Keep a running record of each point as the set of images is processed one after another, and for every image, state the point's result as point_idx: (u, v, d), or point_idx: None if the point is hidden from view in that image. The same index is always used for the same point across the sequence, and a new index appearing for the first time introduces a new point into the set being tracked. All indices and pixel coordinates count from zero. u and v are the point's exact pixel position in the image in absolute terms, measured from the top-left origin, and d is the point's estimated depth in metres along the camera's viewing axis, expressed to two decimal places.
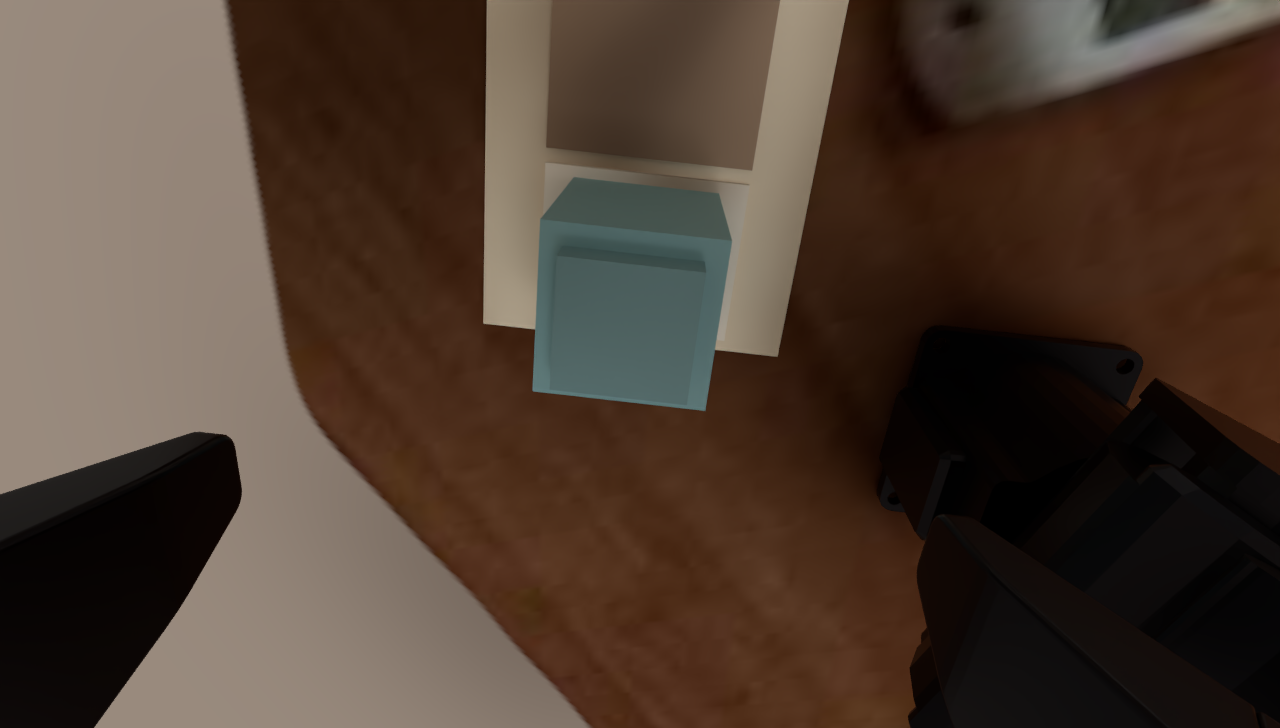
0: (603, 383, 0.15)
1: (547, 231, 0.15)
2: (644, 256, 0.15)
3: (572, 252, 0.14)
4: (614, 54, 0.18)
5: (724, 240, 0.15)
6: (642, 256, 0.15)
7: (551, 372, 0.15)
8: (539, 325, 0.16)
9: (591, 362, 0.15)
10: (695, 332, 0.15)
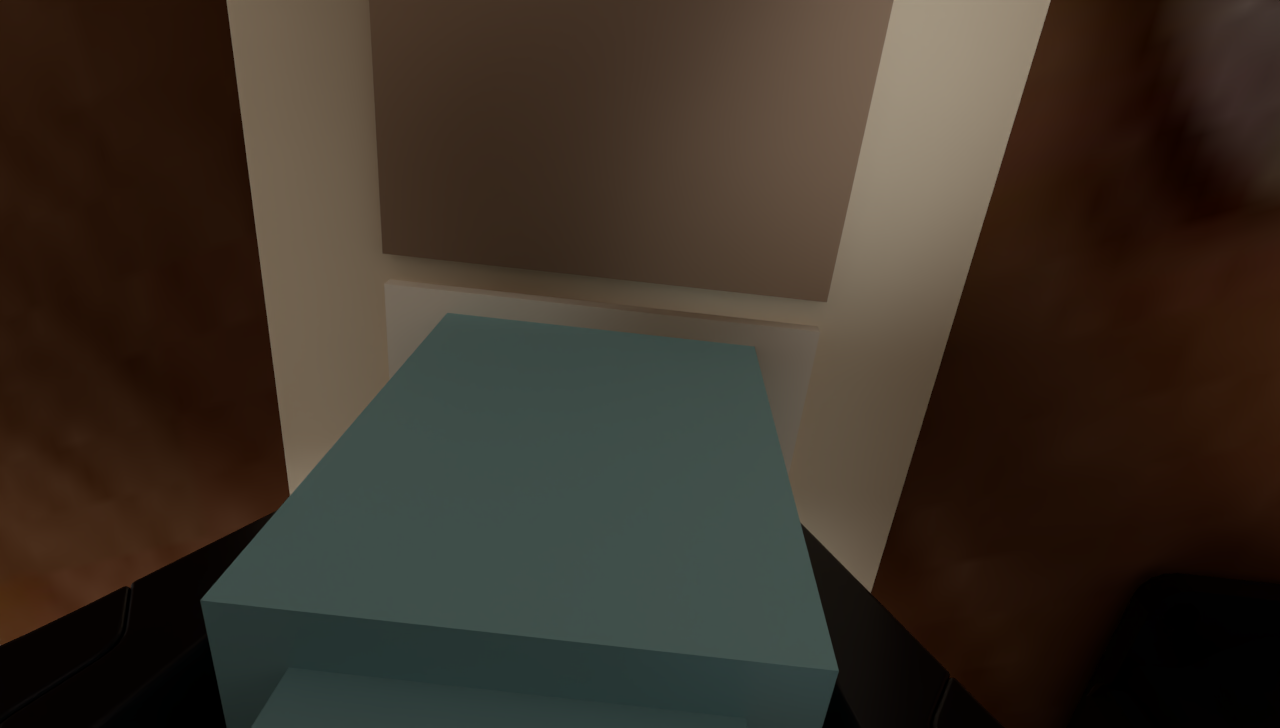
0: None
1: (232, 631, 0.04)
2: (549, 713, 0.04)
3: None
4: (518, 52, 0.08)
5: (812, 667, 0.04)
6: (542, 714, 0.04)
7: None
8: None
9: None
10: None
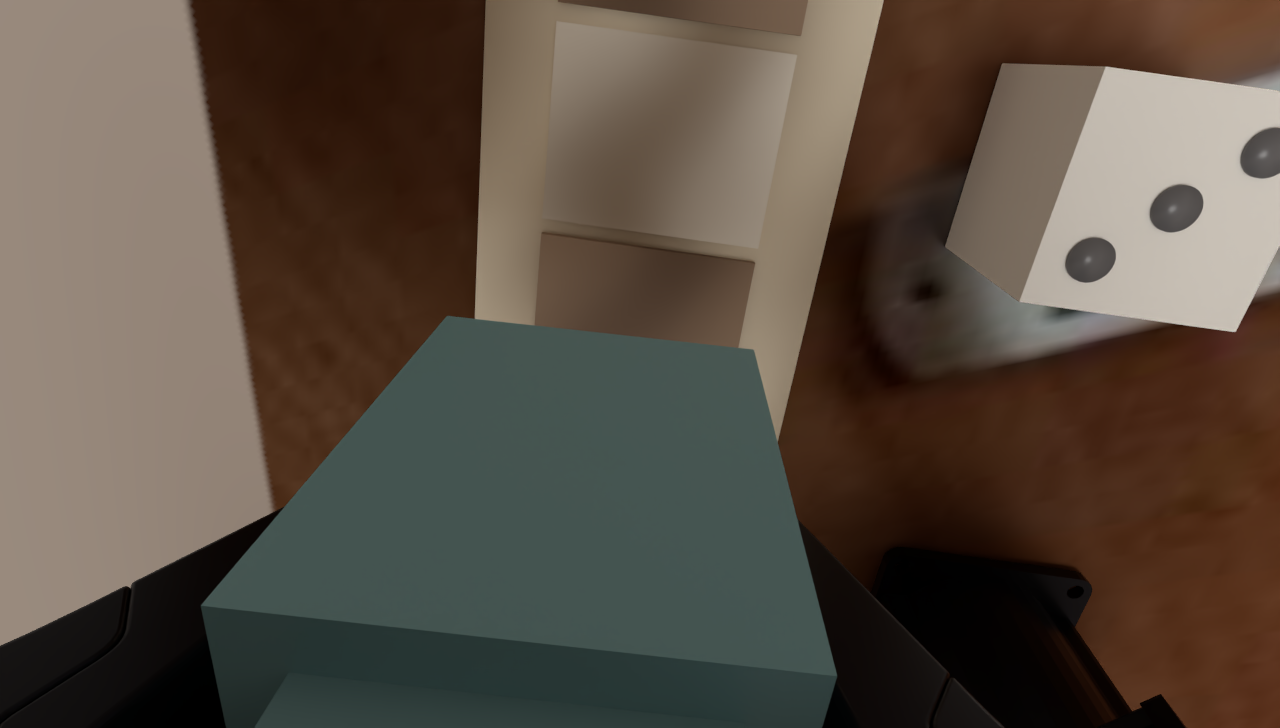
0: None
1: (233, 636, 0.05)
2: (549, 719, 0.04)
3: None
4: (595, 318, 0.19)
5: (811, 673, 0.04)
6: (542, 720, 0.04)
7: None
8: None
9: None
10: None
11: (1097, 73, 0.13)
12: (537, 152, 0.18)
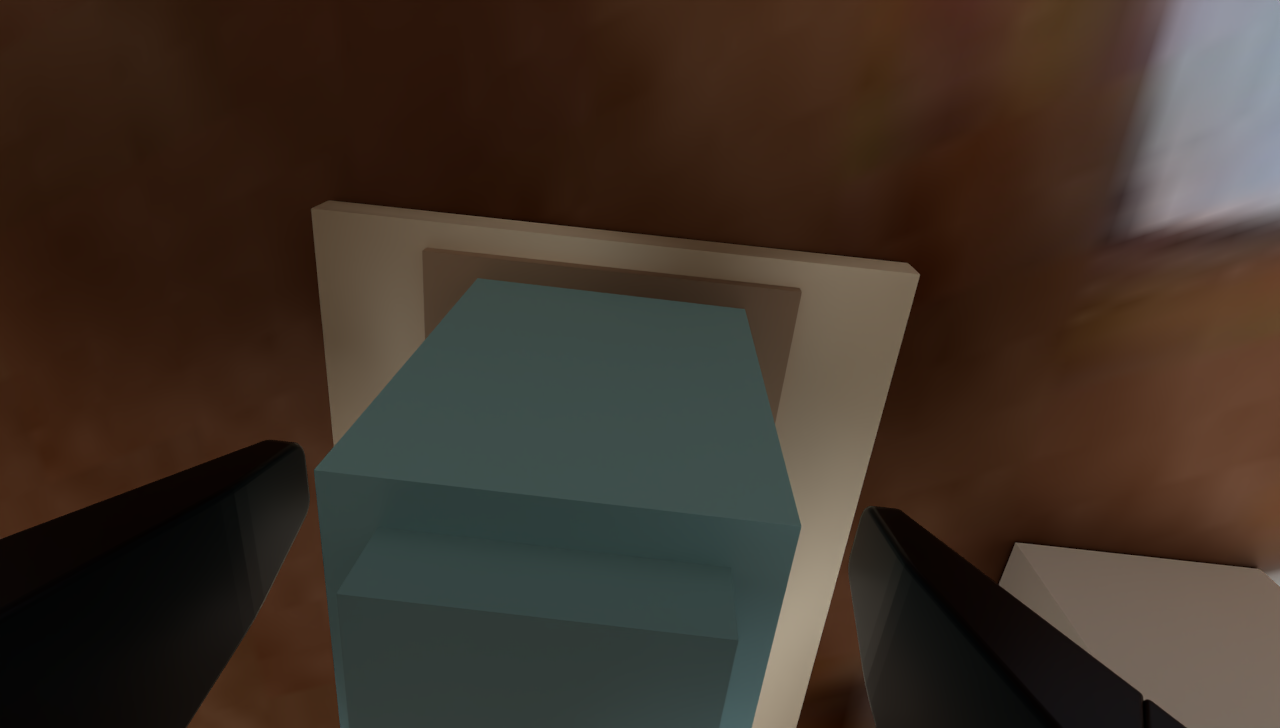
0: None
1: (336, 496, 0.06)
2: (580, 560, 0.06)
3: (391, 564, 0.06)
4: None
5: (782, 524, 0.06)
6: (574, 561, 0.06)
7: None
8: None
9: None
10: None
11: None
12: None
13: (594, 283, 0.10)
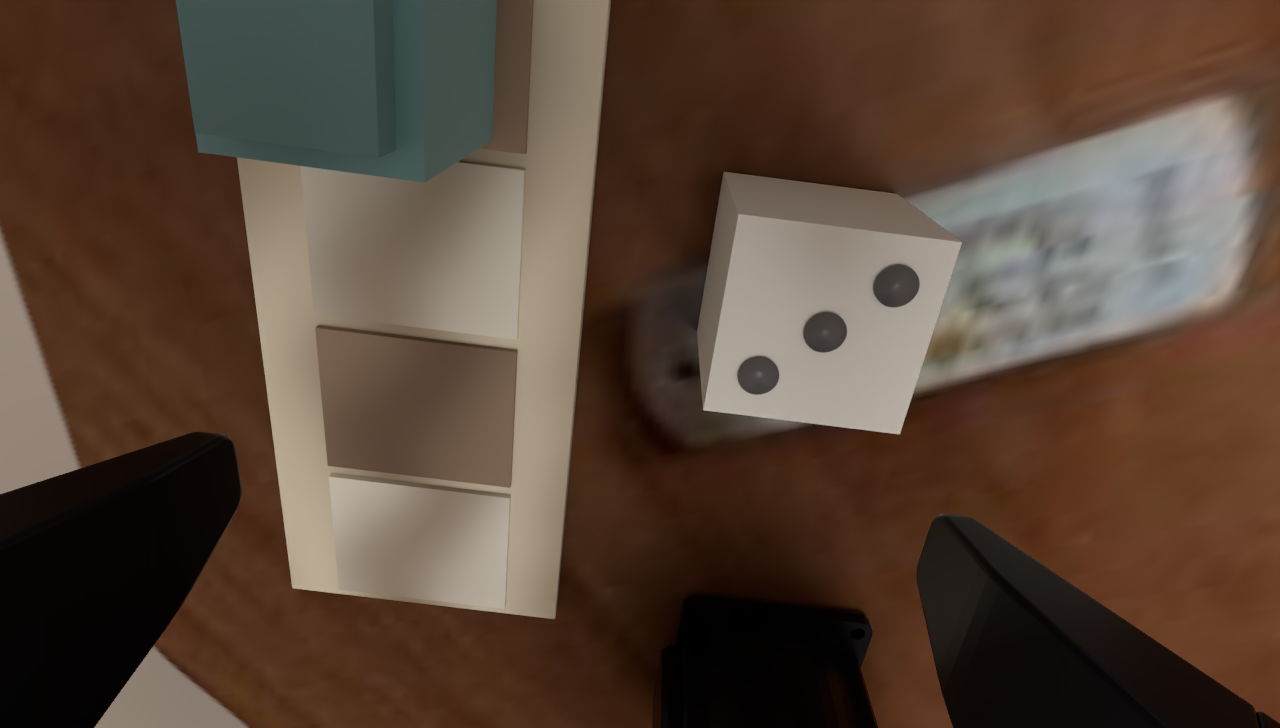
0: (264, 124, 0.11)
1: None
2: None
3: None
4: (377, 401, 0.20)
5: None
6: None
7: (191, 105, 0.11)
8: None
9: (242, 90, 0.11)
10: (372, 43, 0.11)
11: (736, 217, 0.14)
12: (301, 255, 0.19)
13: None
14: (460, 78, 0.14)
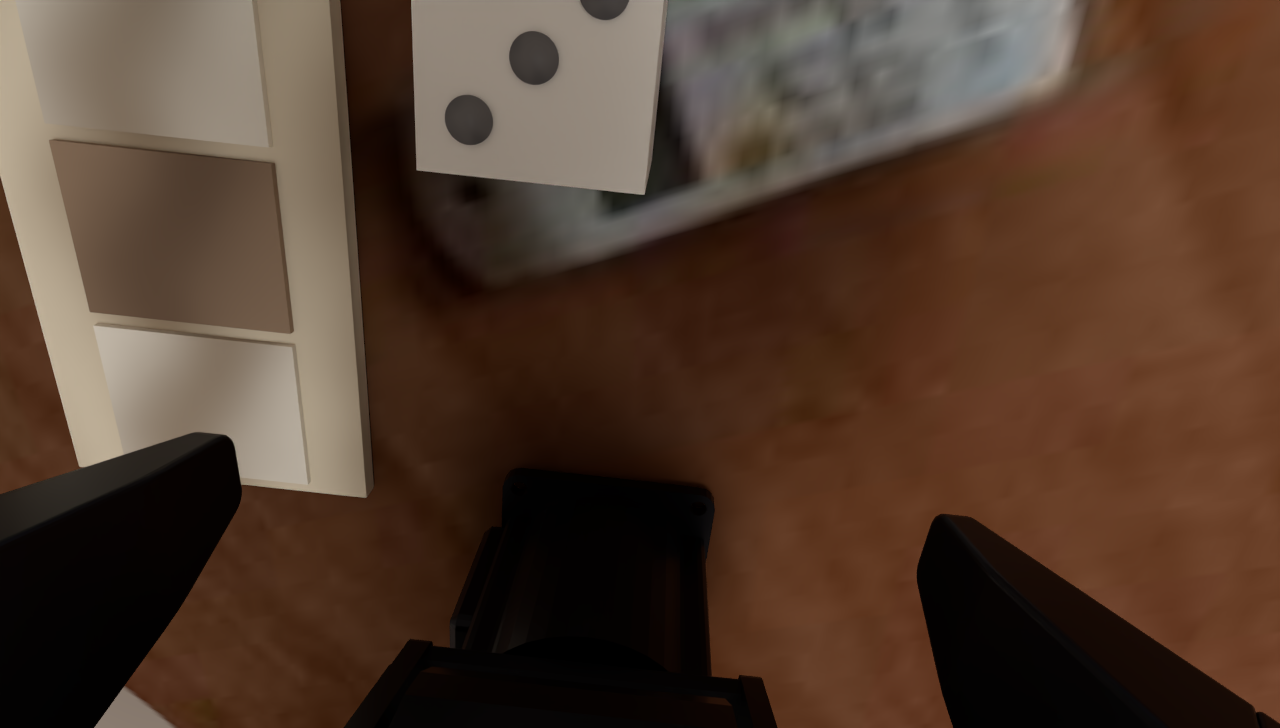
0: None
1: None
2: None
3: None
4: (130, 230, 0.19)
5: None
6: None
7: None
8: None
9: None
10: None
11: None
12: (22, 52, 0.17)
13: None
14: None
